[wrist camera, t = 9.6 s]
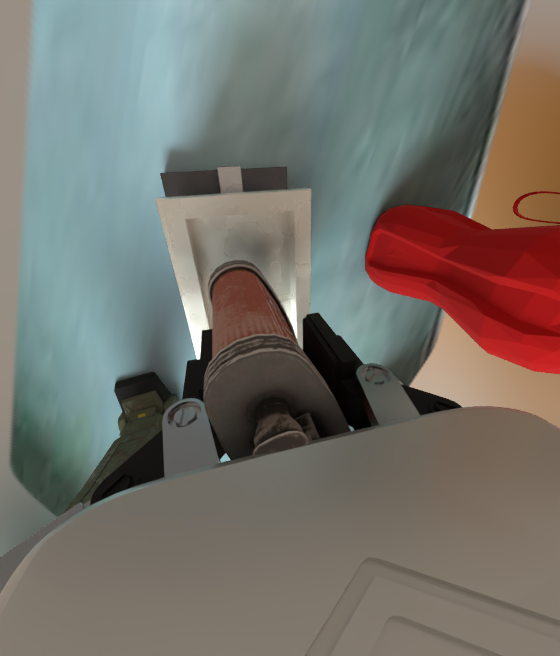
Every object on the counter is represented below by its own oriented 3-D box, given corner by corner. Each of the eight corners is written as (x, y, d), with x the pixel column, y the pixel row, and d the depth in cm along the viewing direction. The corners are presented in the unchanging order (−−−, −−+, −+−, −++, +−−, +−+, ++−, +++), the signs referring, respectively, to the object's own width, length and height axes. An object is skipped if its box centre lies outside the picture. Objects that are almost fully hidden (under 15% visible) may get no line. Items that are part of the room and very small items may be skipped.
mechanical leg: (86, 368, 30) (-148, 1041, 9) (148, 350, 31) (68, 937, 10) (145, 420, 40) (100, 800, 19) (191, 406, 40) (198, 757, 19)
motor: (281, 167, 25) (338, 156, 14) (287, 313, 33) (326, 381, 22) (164, 173, 23) (116, 165, 12) (200, 326, 31) (192, 408, 20)
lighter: (190, 277, 12) (133, 533, 3) (258, 247, 12) (380, 421, 3) (259, 391, 16) (313, 629, 7) (309, 369, 16) (419, 581, 8)
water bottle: (447, 191, 30) (1003, 215, 9) (415, 281, 35) (718, 431, 14) (378, 183, 28) (894, 188, 7) (355, 280, 33) (606, 455, 12)
